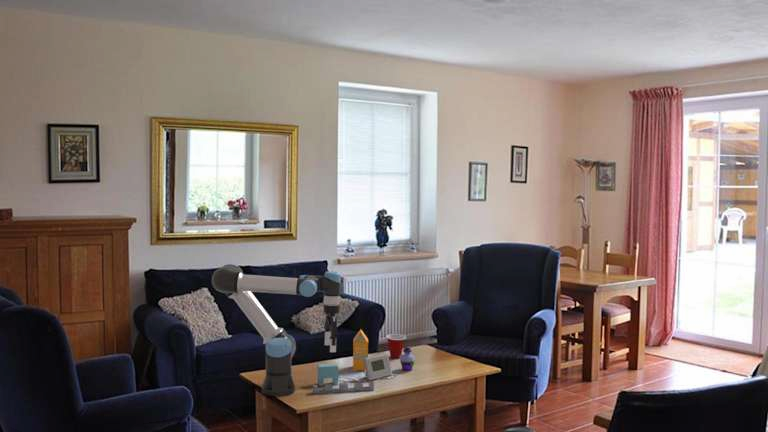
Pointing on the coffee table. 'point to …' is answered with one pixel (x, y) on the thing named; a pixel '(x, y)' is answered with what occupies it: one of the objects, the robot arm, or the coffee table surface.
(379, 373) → the digital clock
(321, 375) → the block
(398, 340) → the plastic cup
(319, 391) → the rail
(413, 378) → the coffee table surface
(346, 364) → the coffee table surface
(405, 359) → the potion bottle
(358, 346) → the orange juice
